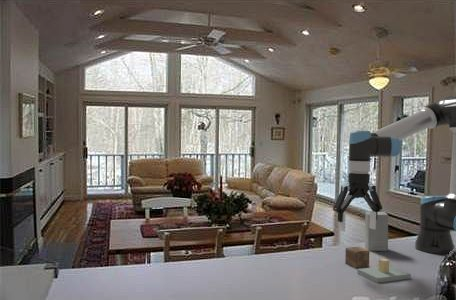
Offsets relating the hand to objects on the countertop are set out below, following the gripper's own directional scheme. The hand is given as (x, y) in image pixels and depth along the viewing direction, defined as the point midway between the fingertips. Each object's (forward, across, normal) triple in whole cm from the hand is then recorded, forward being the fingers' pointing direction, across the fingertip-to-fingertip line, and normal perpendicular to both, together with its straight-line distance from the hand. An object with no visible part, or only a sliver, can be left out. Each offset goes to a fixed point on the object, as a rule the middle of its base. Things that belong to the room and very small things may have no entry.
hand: (357, 229), depth 155 cm
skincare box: (+13, -22, -16) cm, 30 cm away
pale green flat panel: (+13, -1, +13) cm, 18 cm away
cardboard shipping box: (+13, 0, 0) cm, 13 cm away
